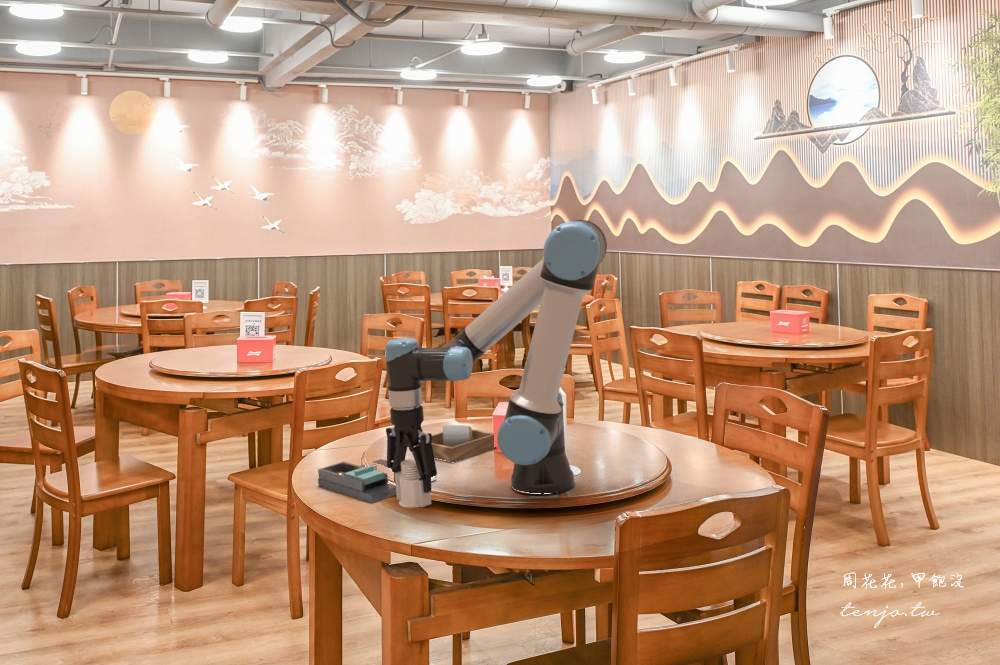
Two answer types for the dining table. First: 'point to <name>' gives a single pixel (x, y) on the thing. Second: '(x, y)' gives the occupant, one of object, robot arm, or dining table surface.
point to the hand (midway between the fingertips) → (413, 501)
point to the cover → (366, 474)
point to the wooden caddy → (463, 446)
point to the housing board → (355, 482)
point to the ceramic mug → (456, 435)
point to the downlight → (409, 484)
